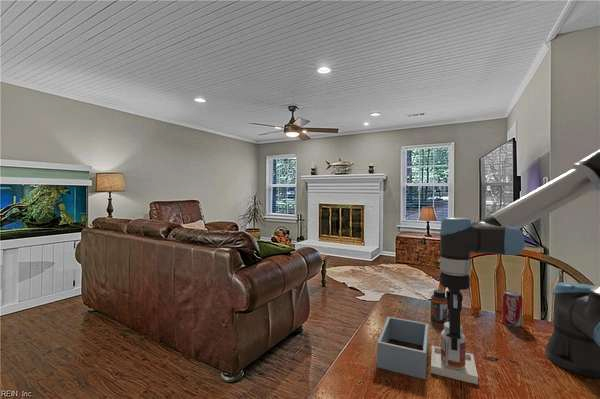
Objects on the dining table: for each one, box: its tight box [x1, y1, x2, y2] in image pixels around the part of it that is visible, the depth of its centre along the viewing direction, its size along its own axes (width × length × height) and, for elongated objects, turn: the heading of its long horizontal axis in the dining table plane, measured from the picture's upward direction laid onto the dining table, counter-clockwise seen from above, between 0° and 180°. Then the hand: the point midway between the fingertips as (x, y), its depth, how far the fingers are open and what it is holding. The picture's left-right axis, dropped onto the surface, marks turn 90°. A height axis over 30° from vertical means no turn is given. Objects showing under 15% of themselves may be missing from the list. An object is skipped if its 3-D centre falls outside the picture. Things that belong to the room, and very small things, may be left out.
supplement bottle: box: [430, 289, 448, 323], centre depth 115 cm, size 6×6×11 cm
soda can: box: [501, 290, 524, 328], centre depth 111 cm, size 6×6×12 cm
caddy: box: [376, 316, 429, 381], centre depth 88 cm, size 13×20×7 cm, turn 155°
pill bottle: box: [440, 321, 467, 369], centre depth 82 cm, size 6×6×11 cm
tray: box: [430, 345, 479, 385], centre depth 83 cm, size 11×12×2 cm
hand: (453, 353), depth 83 cm, fingers open, 7 cm apart
